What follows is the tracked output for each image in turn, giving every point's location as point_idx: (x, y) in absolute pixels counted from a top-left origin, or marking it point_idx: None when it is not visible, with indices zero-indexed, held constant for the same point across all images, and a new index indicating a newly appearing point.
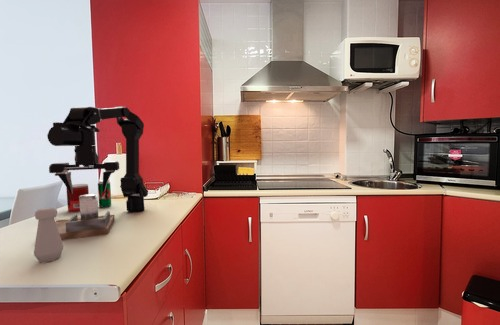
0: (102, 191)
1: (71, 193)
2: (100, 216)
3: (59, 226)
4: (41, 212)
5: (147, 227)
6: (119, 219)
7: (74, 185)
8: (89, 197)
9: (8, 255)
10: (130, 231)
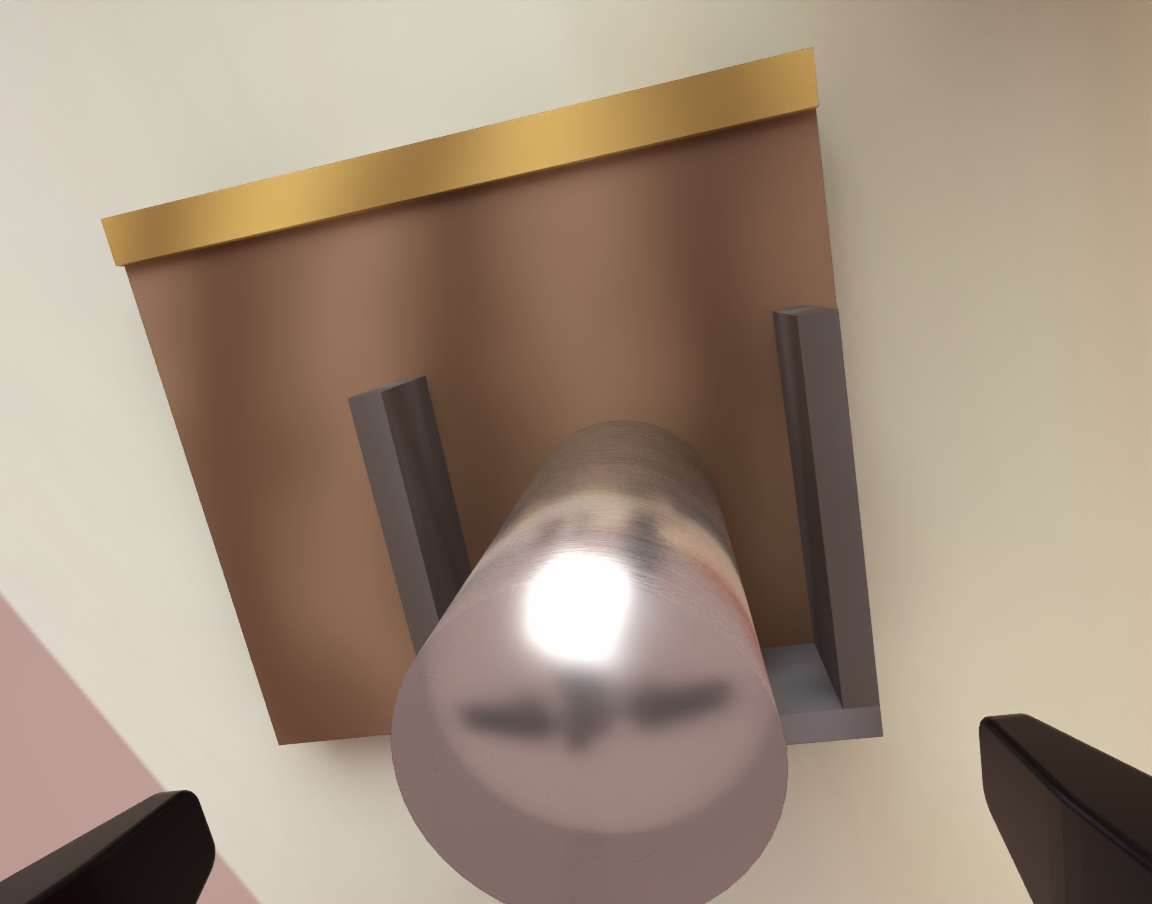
0: None
1: (205, 872)
2: (624, 152)
3: (291, 484)
4: None
5: None
6: (855, 46)
7: None
8: (671, 895)
9: (266, 885)
10: (1091, 620)
